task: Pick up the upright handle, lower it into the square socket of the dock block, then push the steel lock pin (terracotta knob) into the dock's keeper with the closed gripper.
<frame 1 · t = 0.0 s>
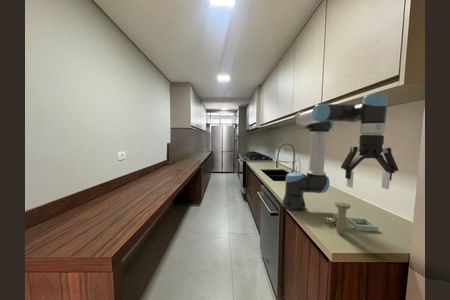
hand: (367, 187, 74), 28 cm above the worktop, fingers open, 13 cm apart
handle: (340, 233, 92), on the worktop
lock pin: (332, 220, 101), point 2 cm above the worktop, slide at 0.0 cm
dock: (360, 226, 100), on the worktop
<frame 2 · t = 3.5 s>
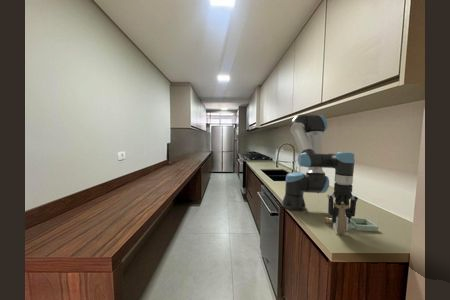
hand: (340, 228, 92), 2 cm above the worktop, fingers closed on handle, 4 cm apart
handle: (340, 233, 92), on the worktop, touching gripper
everything else where it was.
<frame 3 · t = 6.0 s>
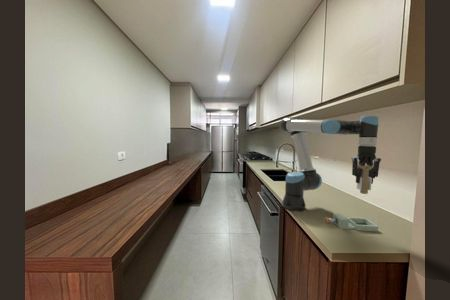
hand: (363, 189, 98), 21 cm above the worktop, fingers closed on handle, 4 cm apart
handle: (363, 193, 98), point 18 cm above the worktop, touching gripper
everything else where it was.
when the fingers open (4 cm above the worktop, at t = 8.6 s): handle drops 2 cm, resting in dock.
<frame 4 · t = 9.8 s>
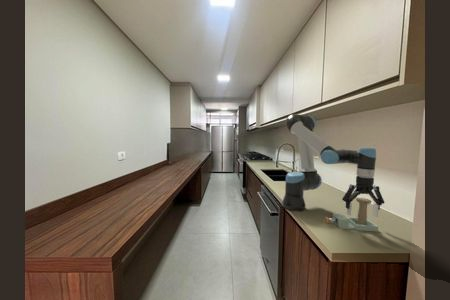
hand: (361, 215, 99), 6 cm above the worktop, fingers open, 13 cm apart
handle: (361, 226, 100), resting in dock
everything else where it was.
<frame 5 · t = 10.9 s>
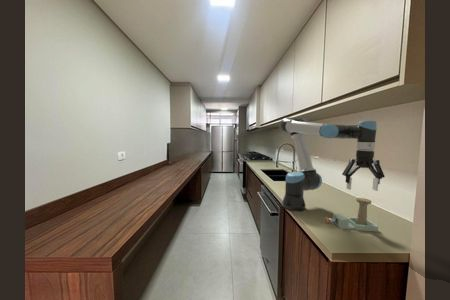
hand: (361, 189, 98), 20 cm above the worktop, fingers open, 13 cm apart
nothing on the worktop moved.
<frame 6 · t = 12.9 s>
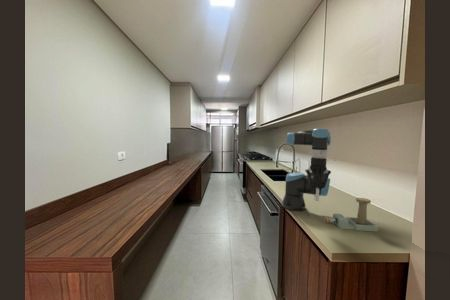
hand: (316, 200, 100), 13 cm above the worktop, fingers closed
nothing on the worktop moved.
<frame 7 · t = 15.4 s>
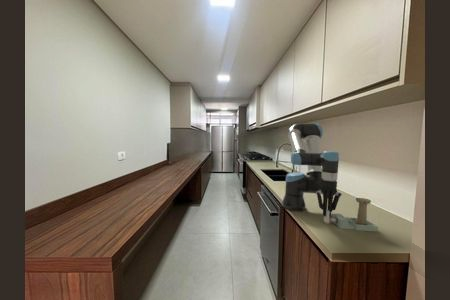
hand: (326, 221, 101), 2 cm above the worktop, fingers closed
lock pin: (334, 220, 100), point 2 cm above the worktop, slide at 0.8 cm, touching gripper
everything else where it was.
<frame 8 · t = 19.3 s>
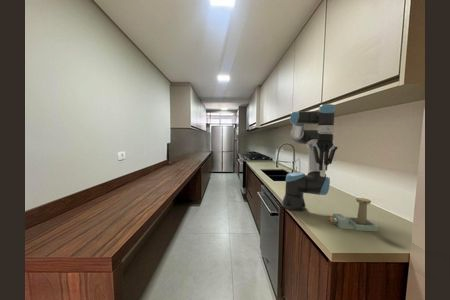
hand: (322, 176, 101), 26 cm above the worktop, fingers closed
lock pin: (336, 220, 100), point 2 cm above the worktop, slide at 2.2 cm
everything else where it was.
at the end: handle 0.1 cm off-centre on the dock, point 0.0 cm above the dock's base; handle tilted 0°; lock pin slide at 2.2 cm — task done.
